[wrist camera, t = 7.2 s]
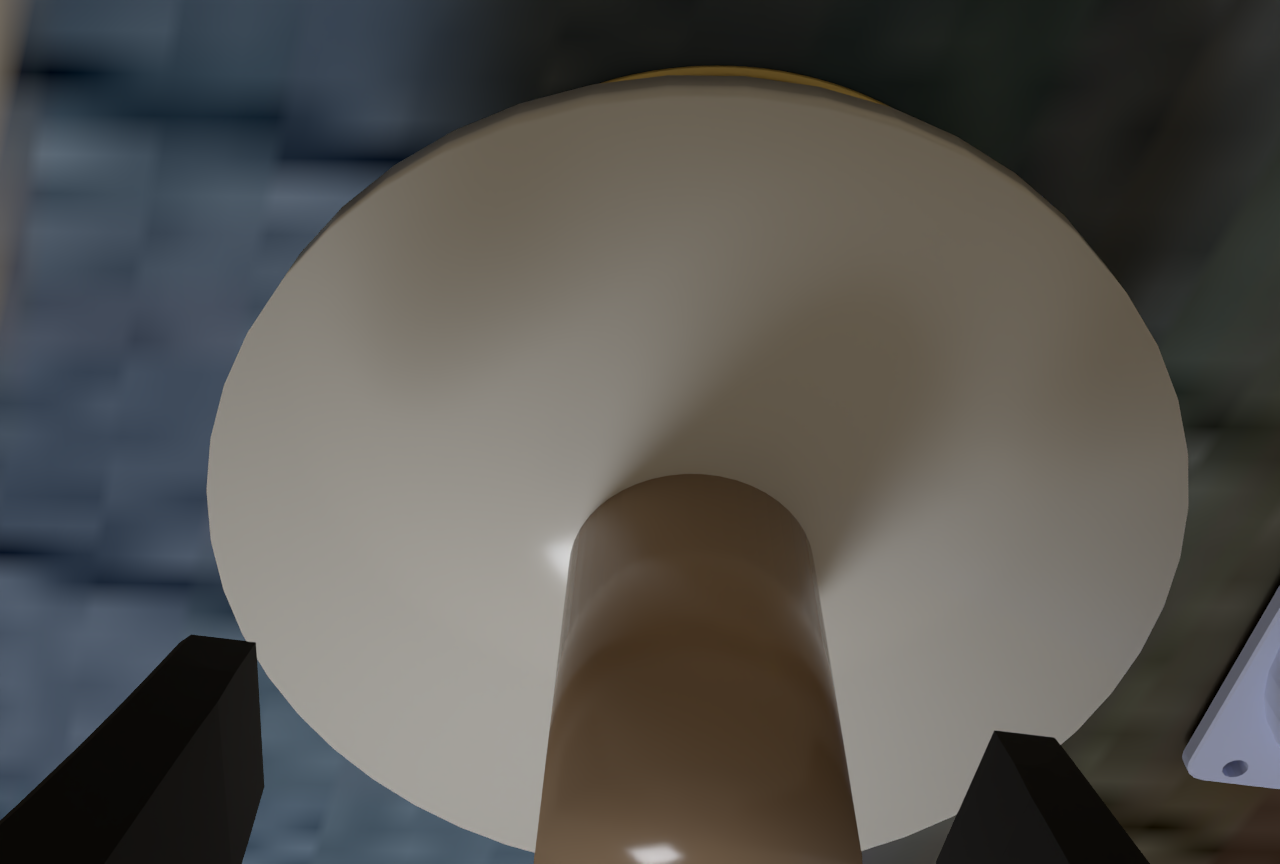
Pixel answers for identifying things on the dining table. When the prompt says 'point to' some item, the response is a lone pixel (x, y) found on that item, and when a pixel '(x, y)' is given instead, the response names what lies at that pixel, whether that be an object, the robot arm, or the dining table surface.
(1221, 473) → the dining table surface
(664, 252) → the lid
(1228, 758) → the robot arm
